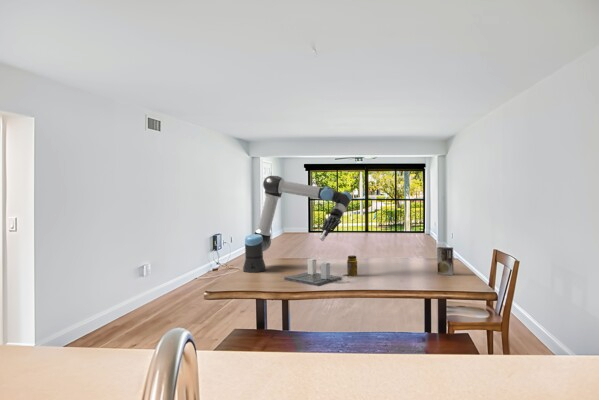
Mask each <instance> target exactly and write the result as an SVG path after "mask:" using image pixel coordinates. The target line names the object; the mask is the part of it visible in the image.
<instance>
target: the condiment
mask: <svg viewBox="0 0 599 400" xmlns="http://www.w3.org/2000/svg"><path fill="white" fill-rule="evenodd" d="M346 261H347V262H346V264H347V265H346V266H347V268H346V269H347V271H346V272H347V273H346V274H342V276H344V277H346V276H347V278H352V277H358V276H361V275H360V274H358V260H357V255H348V256H347V260H346Z"/></svg>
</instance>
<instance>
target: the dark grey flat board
mask: <svg viewBox="0 0 599 400" xmlns="http://www.w3.org/2000/svg"><path fill="white" fill-rule="evenodd" d="M341 279H342V280H343V278H342V276H339V275H331V274H330V279H321V272H320V273H319V272H317V274H314V275H311V274H308V271H306V272H301V273H296V274H292V275H288V276H284V277H283V280H284V281H289V282H294V283H300V284H303V285H304V284H305V285H311V286H315V287H319V286H322V285H326V284H329V283H334V282H337V280H338V281H341Z"/></svg>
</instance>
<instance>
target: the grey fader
mask: <svg viewBox="0 0 599 400" xmlns="http://www.w3.org/2000/svg"><path fill="white" fill-rule="evenodd" d="M330 268H331V263H330V262H327V261H325V262H320V273H321V279H330V275H331V269H330Z"/></svg>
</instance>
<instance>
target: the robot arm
mask: <svg viewBox="0 0 599 400" xmlns="http://www.w3.org/2000/svg"><path fill="white" fill-rule="evenodd" d="M262 182H263V183H262V186H263V188H264V195H265V200H264V203H263V207H262V211H261V216H260V219H259V222H258V223H259V224H258V228H257V229H256V230H255V231H254V234H248V235H246V237H244V238H245V239H244V251H245V253H244V254H245V255H244V256H245V259H244V264H243V267H242V271H243V272H245V273H261V272H265V271H266V270H267V268H266V267H267V266H266V264H265V261H264V252H266V251H267V250H268V249H270V246H271V245H272V241H271V238H272V233H271V229H272V225H273V221H274V216H275V213H276V209H277V204H278V201H279V199H280V198H281V197H282V194H283V193H285V194H290V195H296V196H302V197H306V198H312V199H318V200H323V201H327V202H328V201H329V202H330V201H331V202H333V203H335V205H334V206H333V208H332V209H331V211H330V213H329V216H328V217H325V218H324V219H323V224H322V227H321V230H322V232H321V235H320V236H319V239H320V242H324V241H325V239H326V237H328V235H329V234H330V233H333V232H334V230H335V229H336V228H338V227H337V226H338V225H339V224H341V223H342V220H341V219H342V217H343V215H344V213H345V212H346V210H347V208H348V206H349V204H350V203H351V202H352V199H353V195H352V194H351V193H350V192H348V191H345V190H343V192H340V191H338V190H336V189H334V188H331V187H330V186H327V185H326V186H324V187H320V186H315V185H311V184H310V185H309V184H303V183H299V182H292V181H286V180H284V178H283V177H281V176H279V175H267V176H266V177H265V178H264V179H263V181H262Z"/></svg>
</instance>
